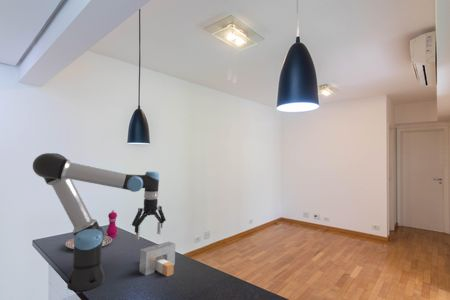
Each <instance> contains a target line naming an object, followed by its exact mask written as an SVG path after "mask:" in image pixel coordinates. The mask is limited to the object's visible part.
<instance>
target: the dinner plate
mask: <svg viewBox="0 0 450 300" xmlns="http://www.w3.org/2000/svg"><path fill="white" fill-rule="evenodd" d="M74 239H75V237H74V238H71V239H69V240H67V241H66V242H65V244H64V245H65V247H67V248H68V249H71V250H74ZM112 241H113V238H111V237H109V236H107V235H104V240H103V244H102V247H104V246H107V245H109V244H110V243H112Z"/></svg>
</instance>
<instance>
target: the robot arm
mask: <svg viewBox="0 0 450 300" xmlns="http://www.w3.org/2000/svg"><path fill="white" fill-rule="evenodd" d="M32 170H33V171H34V173H35V175H36V176H38V177H40V178H43V179H44V182H45V183H46V185H48V186H51V187H52V188H53V190H54V192H55V195H56V196H57V198H58V200H59V202H60V203H61V205H62V208H63V209H64V212H65V213H66V215H67V216H68V217H67V218H68V219H69V221H70V222H71V224H72V226H73V230H72V234H73V236H74V238H75V239H74V249H73V258H72V260H73V261H72V270H71V272H70V274H69V277H68V280H67V286H66V287H67V289H68V290H70V291H72V292H84V290H85V291H89V290H92V289H95V288H97V287H100V286H101V285H102V284H103V283H105V278H106V277H105V271H104V269H103V265H102V254H103V246H102V244H103V240H104V236H105V231H104V229H103V228H102V227H101V226H100V225H99V223H98V221H97V219H94V218H92V216H91V214H90V213H89V211H88V209H87V207H86V205H85V202H84V201H83V199H82V197H81V195H80V193H79V191H78V189H77V187H76V185H75V184H74V181H79V182H82V183H83V182H84V183H89V184H95V185H101V186H105V187H111V188H117V189H120V190H121V189H122V190H126V191H127V190H128V191H130V192H133V193H136V192H139V191H141V190H142V189H144V194H143V198H144V199H143V207H138V210H137V213H136V215H135V217H134V218H133V221H132V223H131V226H133V227H134V233H135V239H137V240H140V238H141V237H140V234H141V233H140V232H141V226H140V225H141V224H142V223H143V221H144V220H145V218H146V217H148V216H149V217H150V216H154V217H155V218H156V220H157V229H156V230H157V231H156V234H158V235H161V234H162V228H163V223H164V222H166V217H165V214H164V212H163V207H162V205H161V206H160V205H158V197H159V187H160V186H159V182H160V174H159V172H158V171H146V172H145V174H130V173H129V174H127V173H122V172H118V171H117V172H116V171H112V170H109V169H108V170H107V169H103V168H100V167H94V166H90V165H84V164H80V163H75V162H71V160H70V159H67V157H65V156H64V155H62V154H60V153H52V152H51V153H50V152H45V153H42V154H40V155H38V156H37V157H35V158H34V161H33V163H32ZM73 180H74V181H73Z"/></svg>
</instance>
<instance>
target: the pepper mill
mask: <svg viewBox="0 0 450 300" xmlns="http://www.w3.org/2000/svg"><path fill="white" fill-rule="evenodd" d="M107 218H108V221H109V223H108V226H107V229H106V234H107V235H106V236H109V237H111V238H112V239H115V238H117V232H118V228H117V225H116V221H117V218H118V214H117V212H115V210H114V209H112V210H111V212H109V213H108V216H107Z"/></svg>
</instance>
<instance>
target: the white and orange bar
mask: <svg viewBox="0 0 450 300" xmlns="http://www.w3.org/2000/svg"><path fill="white" fill-rule="evenodd" d="M174 266H175V265H174V264H173V263H171V262H169V261H167V260H165V259H163V258H161V256H159V257H155V271H157V272H158V273H160V274H162V275H163V276H164V277H165V276H166V277H170V276H172V275H174V272H175V271H174Z"/></svg>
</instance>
